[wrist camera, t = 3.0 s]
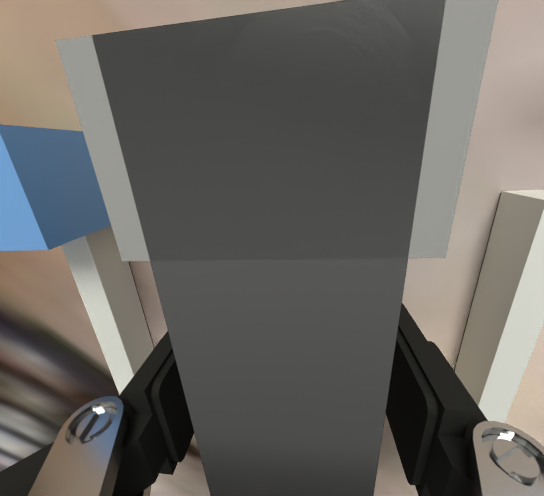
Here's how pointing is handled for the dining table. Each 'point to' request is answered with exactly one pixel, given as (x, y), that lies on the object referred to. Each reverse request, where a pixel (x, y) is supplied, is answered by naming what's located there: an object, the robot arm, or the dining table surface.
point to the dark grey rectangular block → (284, 211)
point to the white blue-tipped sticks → (125, 301)
